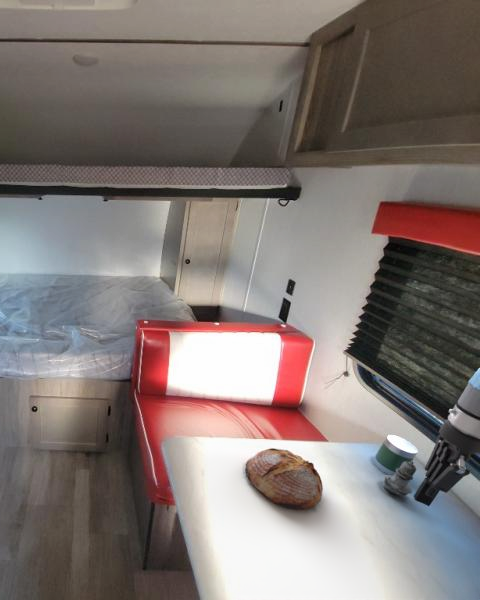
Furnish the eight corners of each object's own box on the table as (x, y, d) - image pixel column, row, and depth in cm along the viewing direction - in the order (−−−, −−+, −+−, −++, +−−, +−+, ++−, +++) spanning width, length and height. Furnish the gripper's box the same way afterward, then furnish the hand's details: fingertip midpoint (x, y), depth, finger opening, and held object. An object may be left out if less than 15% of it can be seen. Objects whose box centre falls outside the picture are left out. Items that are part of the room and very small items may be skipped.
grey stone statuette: (387, 499, 91) (408, 467, 87) (374, 481, 97) (393, 450, 92) (411, 505, 91) (433, 473, 86) (396, 486, 96) (416, 455, 91)
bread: (333, 511, 87) (351, 486, 83) (268, 517, 83) (283, 492, 79) (288, 457, 102) (302, 433, 97) (231, 460, 98) (243, 436, 93)
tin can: (407, 477, 100) (424, 452, 96) (389, 479, 98) (406, 454, 94) (383, 458, 106) (398, 433, 102) (366, 459, 104) (380, 435, 101)
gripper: (438, 407, 83) (397, 476, 92) (455, 437, 73) (407, 511, 82) (481, 421, 80) (433, 491, 88) (505, 454, 69) (449, 530, 78)
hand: (421, 501), depth 85 cm, fingers closed
